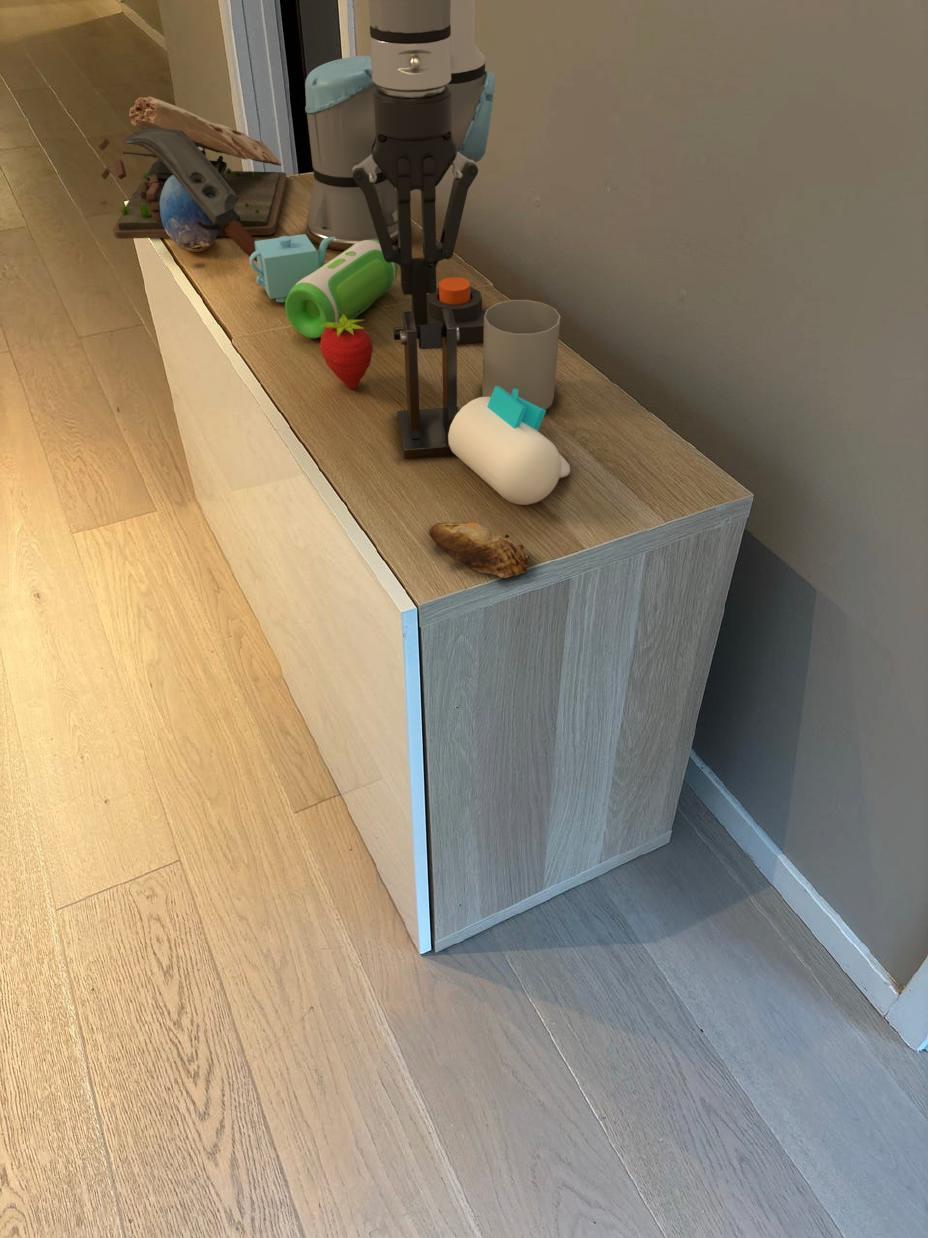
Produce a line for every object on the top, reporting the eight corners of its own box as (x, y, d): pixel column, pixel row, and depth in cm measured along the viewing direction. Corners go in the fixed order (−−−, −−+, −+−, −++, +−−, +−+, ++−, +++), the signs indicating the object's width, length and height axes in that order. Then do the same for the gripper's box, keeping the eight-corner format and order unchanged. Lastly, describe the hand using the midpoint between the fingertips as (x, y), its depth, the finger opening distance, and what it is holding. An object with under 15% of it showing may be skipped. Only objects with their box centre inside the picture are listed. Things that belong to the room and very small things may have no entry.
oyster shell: (476, 492, 91) (541, 547, 86) (469, 523, 93) (533, 579, 88) (427, 504, 88) (492, 562, 82) (421, 536, 90) (484, 595, 85)
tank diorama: (287, 178, 161) (278, 110, 154) (274, 234, 143) (263, 161, 136) (124, 182, 160) (107, 114, 153) (91, 240, 143) (69, 166, 135)
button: (437, 293, 121) (437, 277, 120) (467, 291, 122) (468, 276, 120) (441, 306, 118) (441, 291, 117) (472, 304, 119) (472, 289, 117)
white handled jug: (539, 430, 85) (468, 375, 93) (504, 516, 90) (439, 456, 97) (624, 439, 93) (552, 387, 100) (587, 518, 97) (521, 462, 105)
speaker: (358, 283, 131) (353, 230, 126) (402, 294, 129) (400, 240, 124) (285, 336, 120) (277, 279, 115) (332, 348, 118) (326, 291, 113)
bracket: (397, 419, 106) (391, 303, 96) (458, 415, 107) (458, 299, 97) (404, 459, 100) (398, 340, 91) (468, 454, 101) (469, 335, 91)
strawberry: (333, 408, 108) (324, 327, 101) (319, 377, 113) (309, 297, 106) (382, 399, 109) (377, 318, 102) (366, 369, 114) (360, 290, 107)
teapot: (333, 275, 133) (328, 222, 128) (345, 293, 129) (340, 238, 124) (250, 288, 130) (241, 234, 125) (260, 307, 126) (251, 251, 120)
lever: (394, 344, 107) (392, 322, 106) (446, 341, 108) (444, 319, 107) (402, 350, 94) (400, 325, 93) (461, 346, 94) (459, 322, 94)
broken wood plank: (267, 173, 164) (273, 142, 162) (307, 185, 157) (314, 153, 155) (114, 122, 144) (118, 87, 142) (152, 133, 136) (157, 96, 135)
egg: (242, 264, 138) (225, 177, 141) (201, 238, 130) (184, 147, 133) (198, 290, 142) (182, 204, 144) (156, 266, 134) (140, 177, 137)
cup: (548, 419, 106) (554, 338, 99) (477, 411, 107) (478, 330, 100) (557, 382, 112) (564, 303, 105) (490, 375, 113) (492, 296, 106)
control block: (424, 309, 126) (423, 281, 123) (475, 306, 126) (475, 278, 124) (432, 345, 119) (432, 315, 116) (487, 341, 119) (487, 311, 117)
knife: (249, 291, 128) (118, 131, 131) (249, 301, 130) (120, 144, 133) (300, 264, 132) (171, 109, 134) (299, 274, 134) (172, 121, 136)
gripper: (345, 99, 85) (363, 339, 102) (485, 94, 87) (481, 331, 103) (341, 78, 91) (359, 308, 107) (473, 73, 92) (471, 302, 108)
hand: (419, 319), depth 105 cm, fingers closed
